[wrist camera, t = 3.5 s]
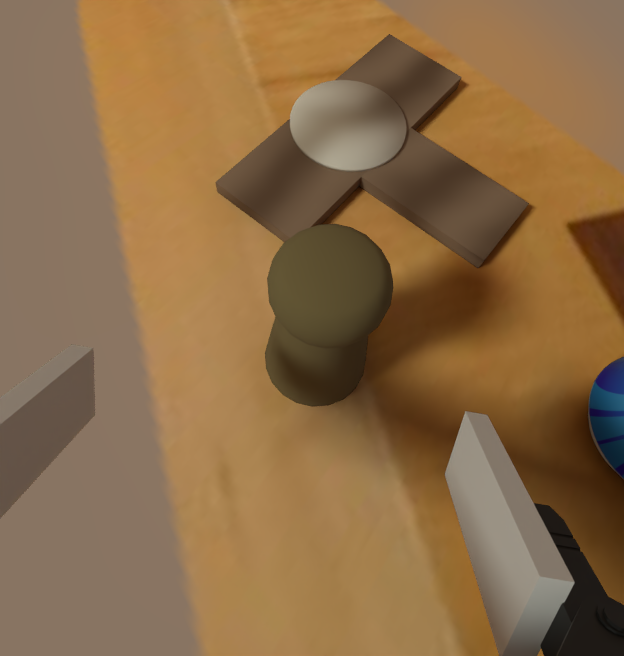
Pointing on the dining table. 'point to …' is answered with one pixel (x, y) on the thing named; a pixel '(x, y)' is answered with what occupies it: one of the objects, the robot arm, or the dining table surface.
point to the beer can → (609, 414)
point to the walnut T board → (373, 158)
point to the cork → (324, 311)
